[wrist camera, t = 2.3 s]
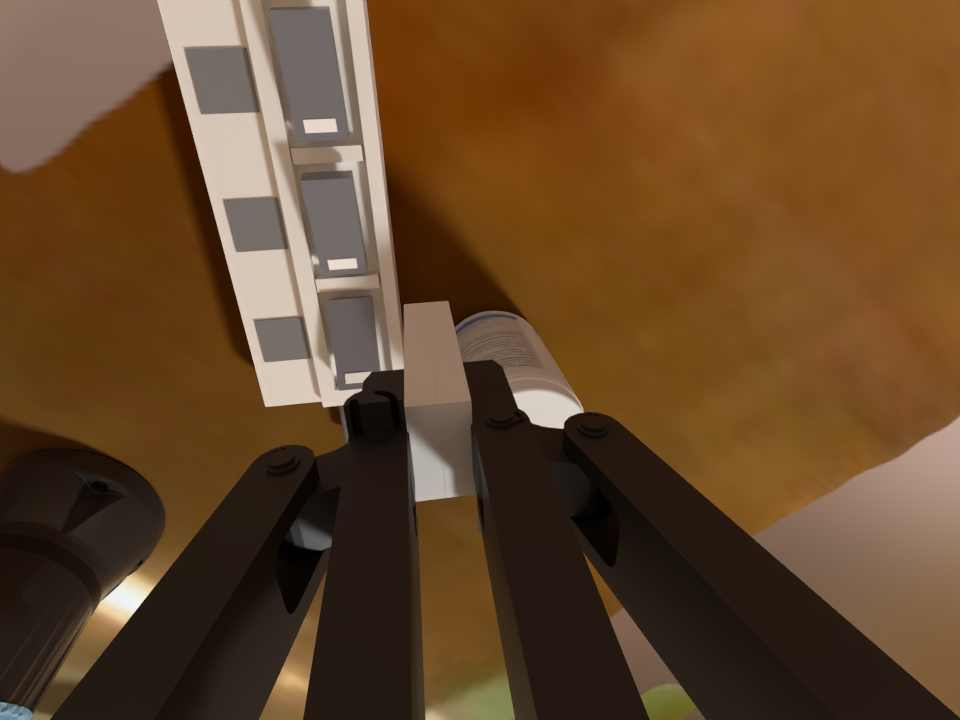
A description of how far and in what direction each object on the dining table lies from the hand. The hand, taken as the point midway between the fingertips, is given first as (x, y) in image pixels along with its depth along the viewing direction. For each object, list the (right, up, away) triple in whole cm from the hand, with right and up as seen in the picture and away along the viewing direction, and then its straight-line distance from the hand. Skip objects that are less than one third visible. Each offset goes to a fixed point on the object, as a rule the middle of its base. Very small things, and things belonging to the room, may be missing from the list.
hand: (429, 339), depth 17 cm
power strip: (-11, +8, +24) cm, 28 cm away
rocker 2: (-8, +9, +18) cm, 21 cm away
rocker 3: (-8, +1, +22) cm, 23 cm away
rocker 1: (-9, +17, +14) cm, 23 cm away
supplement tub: (+3, 0, +31) cm, 31 cm away
